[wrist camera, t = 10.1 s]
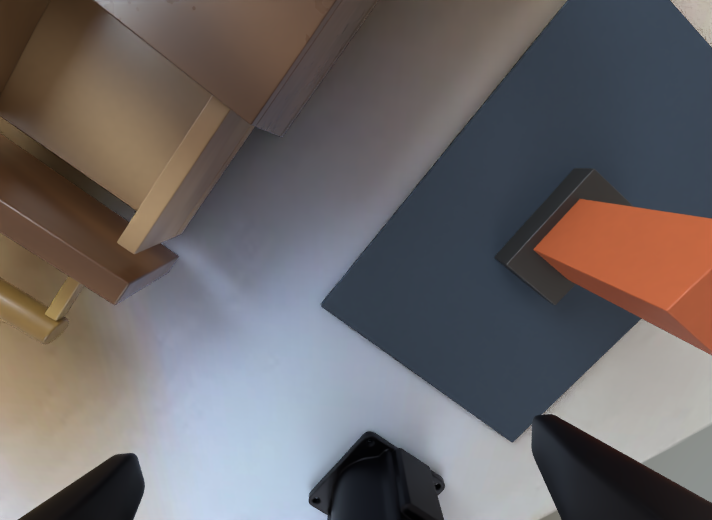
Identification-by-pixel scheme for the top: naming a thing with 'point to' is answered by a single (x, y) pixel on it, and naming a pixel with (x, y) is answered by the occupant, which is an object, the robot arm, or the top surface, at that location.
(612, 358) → the top surface
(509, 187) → the mat
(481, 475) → the top surface
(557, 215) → the stamp
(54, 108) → the drawer
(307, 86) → the cabinet
